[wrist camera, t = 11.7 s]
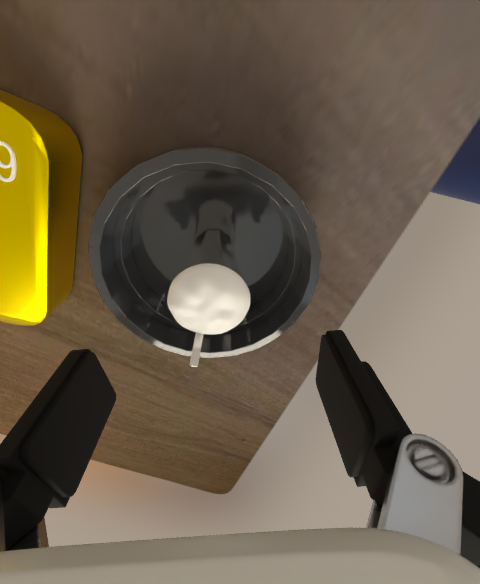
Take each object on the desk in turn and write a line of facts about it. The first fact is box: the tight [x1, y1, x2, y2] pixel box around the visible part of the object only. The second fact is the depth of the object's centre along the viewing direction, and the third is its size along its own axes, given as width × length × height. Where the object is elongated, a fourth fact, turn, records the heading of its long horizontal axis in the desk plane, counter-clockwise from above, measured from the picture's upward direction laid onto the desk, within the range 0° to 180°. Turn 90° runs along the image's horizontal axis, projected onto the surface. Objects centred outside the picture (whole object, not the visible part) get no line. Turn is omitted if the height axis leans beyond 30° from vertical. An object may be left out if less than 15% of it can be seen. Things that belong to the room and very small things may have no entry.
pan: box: [88, 146, 321, 358], centre depth 19 cm, size 15×15×5 cm
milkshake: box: [167, 230, 250, 367], centre depth 17 cm, size 5×5×10 cm
